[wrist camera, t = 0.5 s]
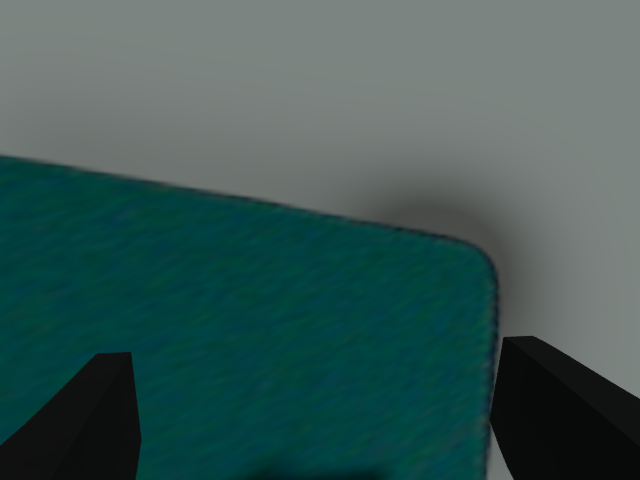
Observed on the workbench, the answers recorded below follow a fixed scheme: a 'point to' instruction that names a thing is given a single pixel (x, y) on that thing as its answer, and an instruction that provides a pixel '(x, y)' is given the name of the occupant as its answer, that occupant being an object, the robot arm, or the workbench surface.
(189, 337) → the workbench surface
